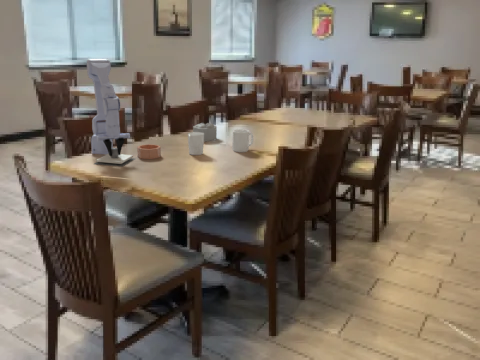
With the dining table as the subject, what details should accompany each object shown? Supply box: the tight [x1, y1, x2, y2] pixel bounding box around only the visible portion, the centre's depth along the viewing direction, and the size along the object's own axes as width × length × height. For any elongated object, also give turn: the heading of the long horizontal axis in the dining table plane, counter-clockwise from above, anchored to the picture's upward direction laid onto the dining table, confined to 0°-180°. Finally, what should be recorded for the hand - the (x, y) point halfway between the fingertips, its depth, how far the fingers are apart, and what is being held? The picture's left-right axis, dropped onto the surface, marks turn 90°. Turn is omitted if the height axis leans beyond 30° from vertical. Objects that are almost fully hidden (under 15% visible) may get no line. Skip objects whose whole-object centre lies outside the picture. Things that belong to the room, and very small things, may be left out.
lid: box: [95, 147, 134, 164], centre depth 203 cm, size 12×12×5 cm
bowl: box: [136, 143, 162, 160], centre depth 213 cm, size 10×10×5 cm
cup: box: [231, 128, 254, 153], centre depth 230 cm, size 8×12×10 cm
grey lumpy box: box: [192, 122, 218, 143], centre depth 253 cm, size 10×13×9 cm
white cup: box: [187, 131, 205, 156], centre depth 221 cm, size 8×8×10 cm
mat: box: [93, 157, 136, 168], centre depth 204 cm, size 14×14×1 cm
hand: (114, 155), depth 203 cm, fingers closed on lid, 3 cm apart
